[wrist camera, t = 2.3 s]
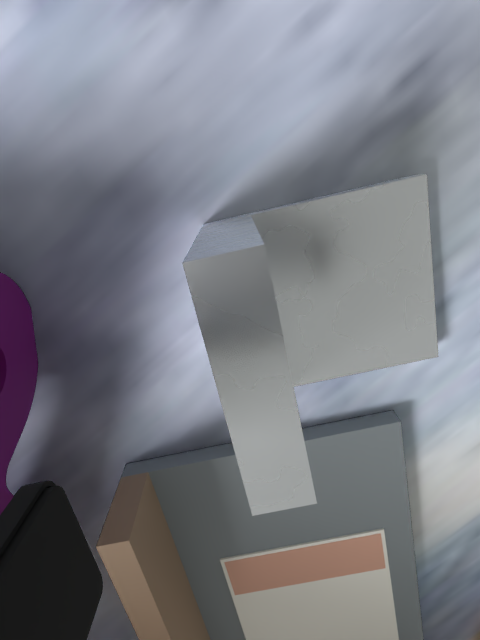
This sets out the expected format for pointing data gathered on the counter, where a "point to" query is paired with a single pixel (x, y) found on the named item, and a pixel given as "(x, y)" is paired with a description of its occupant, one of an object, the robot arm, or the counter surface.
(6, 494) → the mounting bracket
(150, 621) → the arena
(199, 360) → the counter surface
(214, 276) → the bracket
